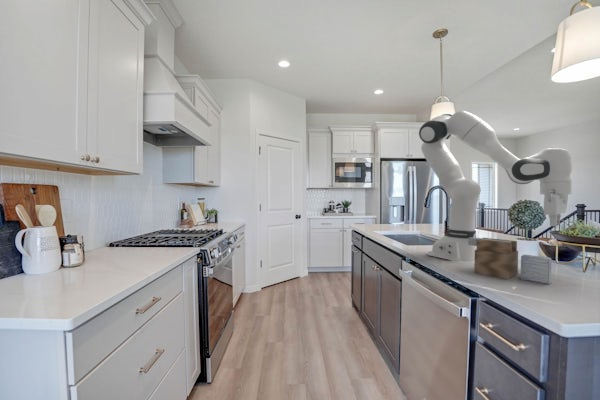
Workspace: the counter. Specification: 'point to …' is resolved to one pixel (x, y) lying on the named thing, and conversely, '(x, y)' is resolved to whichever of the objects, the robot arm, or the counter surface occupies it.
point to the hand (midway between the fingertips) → (554, 225)
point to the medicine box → (536, 268)
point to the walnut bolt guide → (496, 258)
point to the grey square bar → (473, 240)
